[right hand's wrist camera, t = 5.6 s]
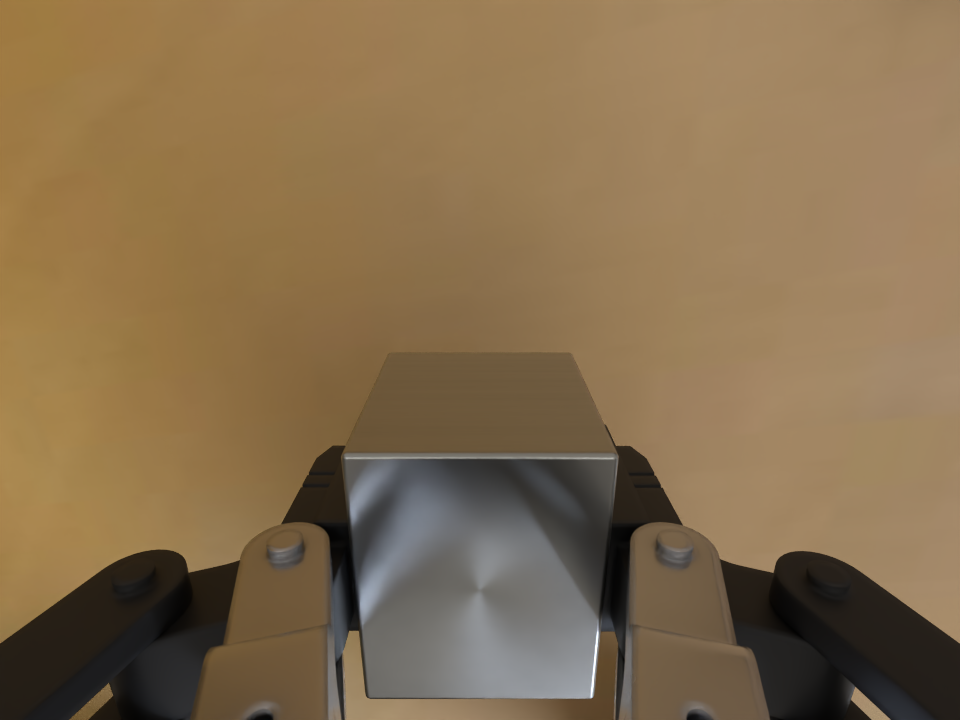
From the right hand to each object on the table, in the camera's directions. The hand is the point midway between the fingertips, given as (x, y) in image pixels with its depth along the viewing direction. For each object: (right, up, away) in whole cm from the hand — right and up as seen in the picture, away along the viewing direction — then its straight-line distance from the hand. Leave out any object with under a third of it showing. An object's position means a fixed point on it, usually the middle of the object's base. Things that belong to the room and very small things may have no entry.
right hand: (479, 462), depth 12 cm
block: (0, 0, 0) cm, 0 cm away
